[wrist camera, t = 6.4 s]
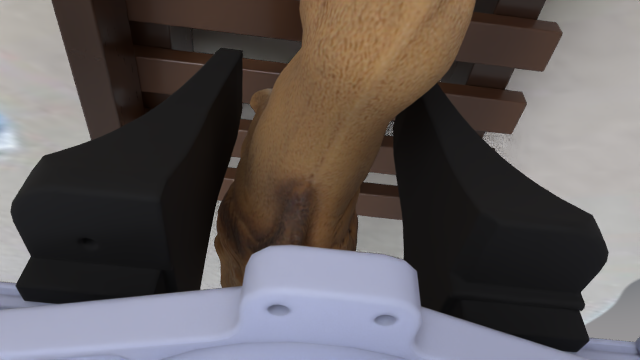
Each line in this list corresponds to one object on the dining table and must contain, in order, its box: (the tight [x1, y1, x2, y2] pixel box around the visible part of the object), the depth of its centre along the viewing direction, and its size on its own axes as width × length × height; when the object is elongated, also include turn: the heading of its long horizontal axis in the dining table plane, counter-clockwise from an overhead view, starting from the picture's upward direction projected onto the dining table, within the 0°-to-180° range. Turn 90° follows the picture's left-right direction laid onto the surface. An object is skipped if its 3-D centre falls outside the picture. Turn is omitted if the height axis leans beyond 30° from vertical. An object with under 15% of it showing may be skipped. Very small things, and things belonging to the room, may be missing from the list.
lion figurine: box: [214, 0, 476, 288], centre depth 12 cm, size 15×5×9 cm, turn 171°
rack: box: [52, 0, 562, 220], centre depth 18 cm, size 16×20×6 cm
